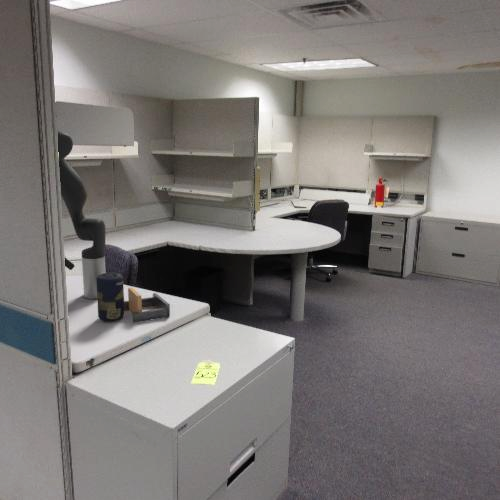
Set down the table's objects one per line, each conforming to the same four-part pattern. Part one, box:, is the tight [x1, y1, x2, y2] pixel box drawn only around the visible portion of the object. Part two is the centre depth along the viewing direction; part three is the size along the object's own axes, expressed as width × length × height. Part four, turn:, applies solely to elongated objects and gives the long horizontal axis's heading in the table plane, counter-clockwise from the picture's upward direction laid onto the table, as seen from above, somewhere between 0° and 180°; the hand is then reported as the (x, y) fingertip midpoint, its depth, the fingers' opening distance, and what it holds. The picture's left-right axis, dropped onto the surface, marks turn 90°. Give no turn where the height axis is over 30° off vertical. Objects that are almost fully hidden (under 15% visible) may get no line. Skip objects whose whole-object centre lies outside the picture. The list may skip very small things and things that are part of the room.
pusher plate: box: [127, 286, 143, 313], centre depth 182 cm, size 12×2×9 cm, turn 30°
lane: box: [124, 292, 171, 324], centre depth 185 cm, size 15×14×5 cm
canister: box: [96, 272, 125, 323], centre depth 177 cm, size 10×10×18 cm
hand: (72, 267), depth 168 cm, fingers closed
